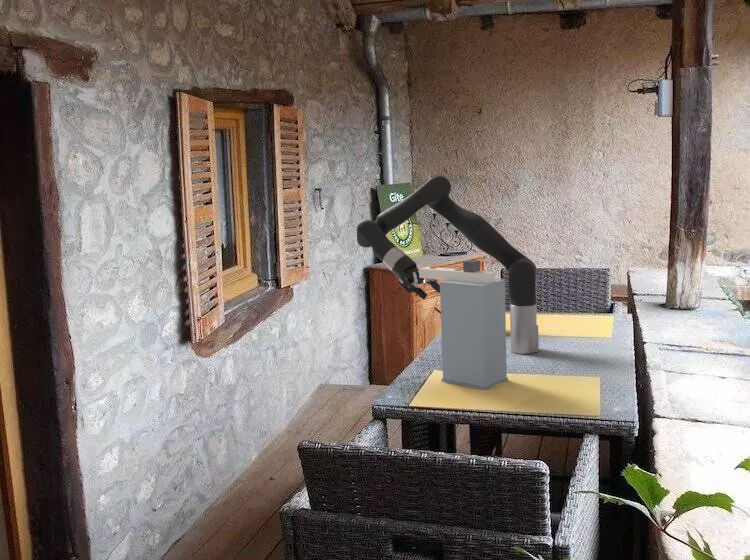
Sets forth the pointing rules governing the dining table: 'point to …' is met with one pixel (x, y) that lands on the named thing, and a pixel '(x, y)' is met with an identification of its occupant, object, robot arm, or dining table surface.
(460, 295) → the post
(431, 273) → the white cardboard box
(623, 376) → the dining table surface
